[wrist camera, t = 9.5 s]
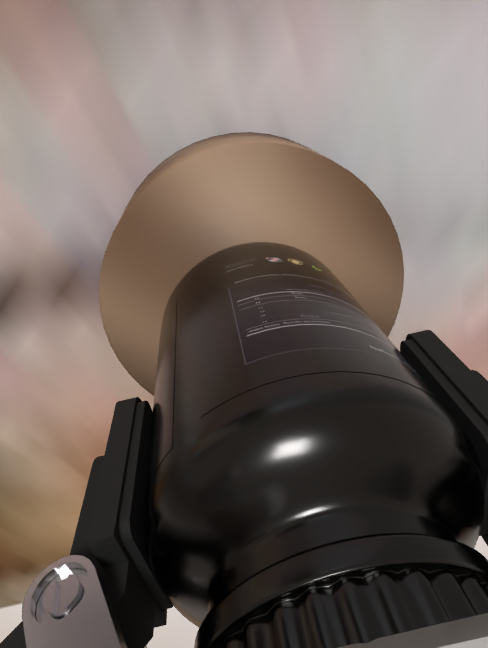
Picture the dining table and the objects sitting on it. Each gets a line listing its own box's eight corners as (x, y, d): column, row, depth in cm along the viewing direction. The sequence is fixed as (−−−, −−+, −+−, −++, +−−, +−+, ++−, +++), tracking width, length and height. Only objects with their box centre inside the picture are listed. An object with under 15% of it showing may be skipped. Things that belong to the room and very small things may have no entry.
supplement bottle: (314, 405, 18) (488, 847, 7) (150, 387, 16) (87, 903, 6) (373, 253, 15) (816, 654, 4) (178, 214, 13) (143, 672, 3)
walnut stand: (257, 405, 24) (269, 457, 21) (65, 292, 20) (39, 336, 16) (416, 247, 21) (462, 280, 17) (224, 61, 16) (234, 54, 12)
